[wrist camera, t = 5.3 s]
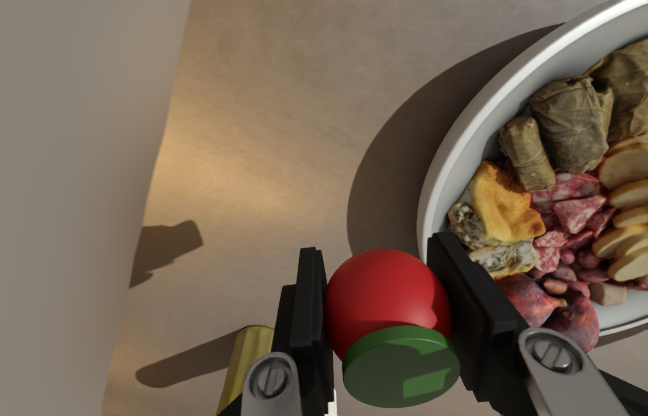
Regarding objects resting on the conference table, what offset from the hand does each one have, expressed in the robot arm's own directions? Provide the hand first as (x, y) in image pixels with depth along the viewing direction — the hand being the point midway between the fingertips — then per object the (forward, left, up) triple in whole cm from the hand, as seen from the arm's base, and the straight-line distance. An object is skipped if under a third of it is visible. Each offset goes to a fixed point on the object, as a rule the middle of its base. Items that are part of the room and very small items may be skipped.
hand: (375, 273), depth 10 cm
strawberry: (0, 0, -1) cm, 1 cm away
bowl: (+7, +20, -16) cm, 26 cm away
